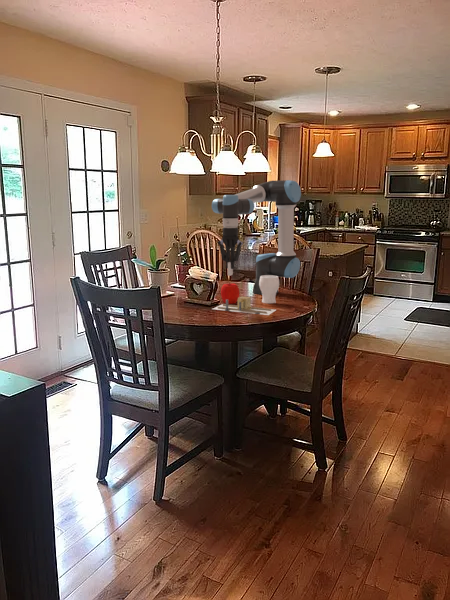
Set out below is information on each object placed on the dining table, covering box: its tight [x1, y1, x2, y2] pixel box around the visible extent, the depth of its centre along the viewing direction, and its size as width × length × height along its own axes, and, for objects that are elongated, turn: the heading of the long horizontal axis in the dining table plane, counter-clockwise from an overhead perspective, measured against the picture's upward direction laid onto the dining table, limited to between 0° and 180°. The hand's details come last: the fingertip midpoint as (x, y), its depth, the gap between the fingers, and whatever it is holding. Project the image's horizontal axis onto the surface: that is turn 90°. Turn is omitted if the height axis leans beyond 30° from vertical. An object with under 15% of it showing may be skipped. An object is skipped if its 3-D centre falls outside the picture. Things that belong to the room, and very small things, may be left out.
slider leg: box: [237, 296, 252, 311], centre depth 249 cm, size 8×5×6 cm, turn 155°
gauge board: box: [212, 300, 277, 316], centre depth 250 cm, size 12×30×7 cm, turn 65°
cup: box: [259, 275, 280, 304], centre depth 267 cm, size 11×11×15 cm
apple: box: [220, 282, 240, 305], centre depth 265 cm, size 10×10×12 cm
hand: (230, 275), depth 250 cm, fingers closed
